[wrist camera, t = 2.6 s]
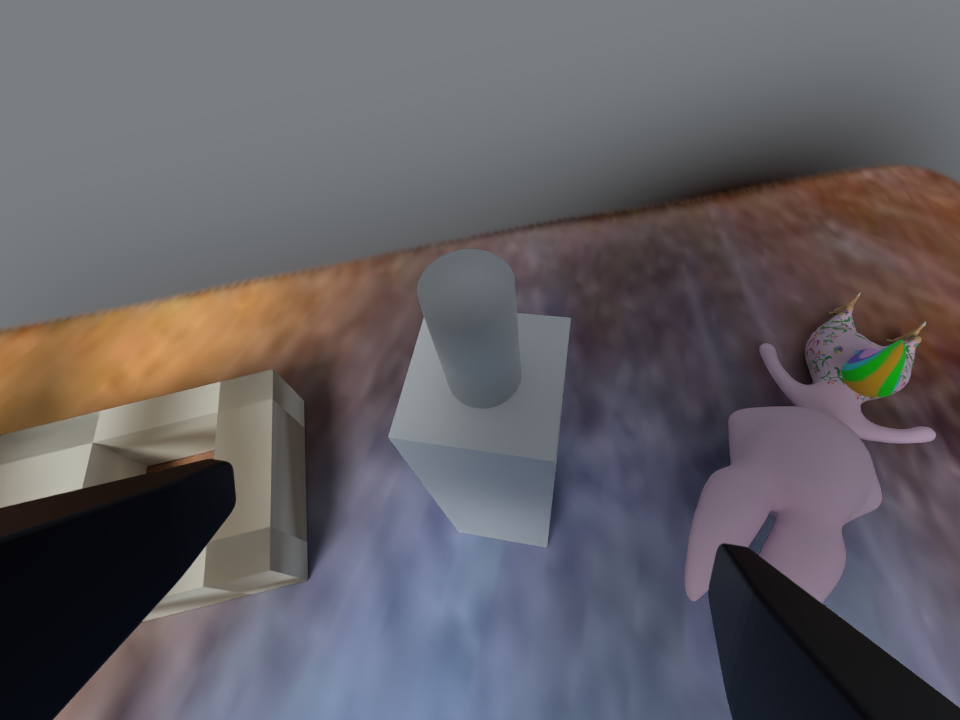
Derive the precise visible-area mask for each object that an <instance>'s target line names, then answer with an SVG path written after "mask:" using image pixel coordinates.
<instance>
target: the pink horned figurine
mask: <svg viewBox="0 0 960 720" xmlns="http://www.w3.org/2000/svg"><path fill="white" fill-rule="evenodd" d="M860 294H861V292H860V293H859V294H858V295H857V296H856V297H855V299H854V300H852V301H849V302H848V303H847V304H845V305H843V306H842V307H839V308H836V309H834V311H833V312H829V315H832V314H833V313H834V314H836V316H834V317H833V318H831V319H830V320H829V321H827V322H826V323H824V324H823V325H821V326H820V327H819V328H818V329H816V330H815V331H814V332H813V334H812V335H811V336H810V338H809V340H808V342H807V344H806V349H805V358H806V362H807V365H808V368H809V371H810V375H811V377H812V380H813V383H812V384H811V385H805V384H801V383H799V382H797V381H796V380H794V379H793V378H792V377H791V376H790V375H789V374H788V373H787V372H786V371H785V369H784V368H783V367H782V366H781V364H780V362H779V360H778V357H777V352H776V349H775V348H774V346H773V345H771V344H769V343H764V344H762V345H761V346H760V348H759V351H760V354H761V357H762V359H763V361H764V363H765V365H766V367H767V369H768V371H769V372H770V374H771V376H772V377H773V379H774V380H775V382H776V383H777V385H778V386H779V387H780V389H781V390H782V391H783V393H784V394H785V395H786V396H787V397H788V399H789V400H790V401H791V402H792V403H793V404H794V405H795V406H774V407H755V408H746V409H740V410H737V411H735V412H733V413H732V414H731V415H730V417H729V420H728V428H729V449H730V460H731V464H730V466H728V467H725V468H722V469H719V470H717V471H715V472H714V473H713V474H712V475H711V476H710V477H709V479H708V480H707V482H706V484H705V486H704V487H703V490H702V492H701V495H700V499H699V502H698V505H697V508H696V511H695V514H694V517H693V520H692V525H691V529H690V534H689V540H688V547H687V555H686V563H685V579H684V581H685V591H686V594H687V596H688V598H689V599H690V600H691V601H697V600H698V599H700V598H701V597H702V596H703V595H704V594H705V593H706V592H707V591H708V590H709V582H710V578H711V573H712V569H713V564H714V560H715V555H716V551H717V548H718V547H719V545H720V544H722V543H727V544H733V545H739V546H745V547H749V545H750V544H751V542H752V541H753V539H754V538H755V536H756V535H757V533H758V532H759V530H760V529H761V527H762V526H763V524H764V522H765V521H766V519H767V517H768V515H769V514H770V515H772V516H774V517H776V522H775V524H774V526H773V528H772V530H771V532H770V534H769V535H768V537H767V539H766V541H765V543H764V545H763V548H762V550H761V552H760V554H759V556H760V557H762V558H763V559H764V560H765V561H767V562H768V563H769V564H771V565H772V566H773V567H775V568H776V569H777V570H779V571H780V572H781V573H783V574H784V575H785V576H787V577H788V578H789V579H790V580H792V581H793V582H794V583H796V584H797V585H798V586H800V587H801V588H802V589H804V590H805V591H806V592H808V593H809V594H810V595H812V596H813V597H814V598H816V599H817V600H818V601H819V602H821V603H823V601H824V600H825V599H826V598H827V596H828V595H829V594H830V593H831V592H832V590H833V589H834V588H835V586H836V585H837V583H838V582H839V580H840V578H841V576H842V573H843V571H844V568H845V563H846V549H845V544H844V540H843V536H842V528H843V525H844V524H846V523H848V522H850V521H852V520H854V519H856V518H858V517H860V516H862V515H864V514H866V513H869V512H871V511H873V510H875V509H877V508H878V507H879V506H880V504H881V501H882V492H881V488H880V484H879V481H878V479H877V476H876V473H875V469H874V466H873V462H872V459H871V456H870V454H869V452H868V450H867V448H866V447H865V445H864V443H863V442H862V441H861V439H864V440H870V441H878V442H886V443H924V442H930V441H932V440H934V439H935V437H936V433H935V432H934V431H933V430H932V429H931V428H929V427H924V426H919V427H914V428H910V429H893V428H887V427H883V426H879V425H876V424H874V423H872V422H870V421H869V420H867V419H866V418H865V417H864V415H863V414H862V412H861V404H862V403H863V402H866V401H869V400H874V399H878V398H883V397H886V396H890V395H892V394H894V393H896V392H898V391H900V390H901V389H903V388H904V387H905V386H906V384H907V383H908V381H909V379H910V376H911V369H912V365H913V361H914V357H915V349H916V347H917V346H918V344H919V343H920V342H921V340H922V338H921V337H919V336H917V335H918V333H919V332H920V329H922V328H923V327H924V326H925V324H926V322H925V323H923V324H921V325H920V327H919V328H918V329H916V330H912V331H911V332H909V333H907V334H905V335H903V336H901V337H898V338H895V339H894V340H890V339H886V340H887V341H888V342H893V343H892V344H891V345H887V346H881V345H878V344H875V343H873V342H872V341H870V340H868V339H867V338H866V337H864V336H863V335H861V334H860V333H858V332H856V328H855V325H854V321H853V318H852V315H851V314H852V312H853V310H854V307H853V306H854V304H855V302H856V300H857V299H858V298H859V297H860Z"/></svg>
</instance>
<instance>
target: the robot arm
mask: <svg viewBox="0 0 960 720" xmlns="http://www.w3.org/2000/svg"><path fill="white" fill-rule="evenodd" d="M235 504H236V490H235V480H234V470H233V467H232V465H231V463H229V462H227V461H223V460H217V459H206V460H201V461H197V462H193V463H189V464H185V465H180V466H176V467H172V468H168V469H163V470H159V471H155V472H151V473H146V474H142V475H138V476H134V477H129V478H125V479H121V480H117V481H112V482H108V483H104V484H100V485H95V486H91V487H87V488H83V489H78V490H74V491H70V492H66V493H61V494H57V495H53V496H49V497H44V498H40V499H36V500H32V501H27V502H23V503H19V504H15V505H10V506H6V507H2V508H0V720H53V719H54V718H55V717H56V716H57V715H58V714H59V713H60V711H61V710H62V709H63V708H64V707H65V706H66V705H67V704H68V703H69V702H70V700H71V699H72V698H73V697H74V696H75V695H76V694H77V693H78V692H79V691H80V689H81V688H82V687H83V686H84V685H85V684H86V683H87V682H88V681H89V679H90V678H91V677H92V676H93V675H94V674H95V673H96V672H97V671H98V670H99V668H100V667H101V666H102V665H103V664H104V663H105V662H106V661H107V660H108V659H109V657H110V656H111V655H112V654H113V653H114V652H115V651H116V650H117V649H118V648H119V646H120V645H121V644H122V643H123V642H124V641H125V640H126V639H127V638H128V637H129V635H130V634H131V633H132V632H133V631H134V630H135V629H136V628H137V627H138V625H139V624H140V623H141V622H142V621H143V620H144V619H145V618H146V617H147V616H148V614H149V613H150V612H151V611H152V610H153V609H154V608H155V607H156V606H157V605H158V603H159V602H160V601H161V600H162V599H163V598H164V597H165V596H166V595H167V594H168V592H169V591H170V590H171V589H172V588H173V587H174V586H175V585H176V583H177V582H178V581H179V580H180V579H181V578H182V576H183V575H184V574H185V573H186V571H187V570H188V569H189V568H190V566H191V565H192V564H193V562H194V561H195V560H196V559H197V557H198V556H199V555H200V553H201V552H202V551H203V549H204V548H205V547H206V545H207V544H208V543H209V542H210V540H211V539H212V538H213V536H214V535H215V534H216V532H217V531H218V530H219V528H220V527H221V526H222V525H223V523H224V522H225V521H226V519H227V518H228V517H229V515H230V514H231V513H232V511H233V509H234V507H235ZM708 595H709V604H710V609H711V615H712V620H713V626H714V631H715V637H716V642H717V648H718V654H719V659H720V665H721V670H722V676H723V681H724V686H725V691H726V696H727V700H728V704H729V708H730V711H731V715H732V719H733V720H960V708H959V707H958V706H956V705H955V704H954V703H952V702H951V701H950V700H948V699H947V698H946V697H945V696H943V695H942V694H941V693H939V692H938V691H937V690H935V689H934V688H933V687H931V686H930V685H929V684H927V683H926V682H925V681H923V680H922V679H921V678H920V677H918V676H917V675H916V674H914V673H913V672H912V671H910V670H909V669H908V668H906V667H905V666H904V665H902V664H901V663H900V662H898V661H897V660H896V659H895V658H893V657H892V656H891V655H889V654H888V653H887V652H885V651H884V650H883V649H881V648H880V647H879V646H877V645H876V644H875V643H873V642H872V641H871V640H869V639H868V638H867V637H866V636H864V635H863V634H862V633H860V632H859V631H858V630H856V629H855V628H854V627H852V626H851V625H850V624H848V623H847V622H846V621H844V620H843V619H842V618H841V617H839V616H838V615H837V614H835V613H834V612H833V611H831V610H830V609H829V608H827V607H826V606H825V605H823V604H822V603H821V602H819V601H818V600H817V599H816V598H814V597H813V596H812V595H810V594H809V593H808V592H806V591H805V590H804V589H802V588H801V587H800V586H798V585H797V584H796V583H794V582H793V581H792V580H790V579H789V578H788V577H787V576H785V575H784V574H783V573H781V572H780V571H779V570H777V569H776V568H775V567H773V566H772V565H771V564H769V563H768V562H767V561H765V560H764V559H763V558H762V557H760V556H759V555H758V554H756V553H755V552H754V551H752V550H751V549H750V548H748V547H745V546H739V545H733V544H727V543H722V544H720V545H719V547H718V548H717V551H716V555H715V560H714V564H713V569H712V573H711V578H710V582H709V590H708Z"/></svg>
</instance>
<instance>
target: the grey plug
mask: <svg viewBox="0 0 960 720" xmlns="http://www.w3.org/2000/svg"><path fill="white" fill-rule="evenodd" d="M417 297H418V301H419V304H420V307H421V310H422V312H423V315H424V319H423V322H422V325H421V329H420V332H419V335H418V339H417V342H416V345H415V349H414V352H413V356H412V359H411V362H410V366H409V369H408V372H407V376H406V379H405V382H404V386H403V389H402V393H401V396H400V399H399V403H398V406H397V409H396V413H395V416H394V419H393V423H392V426H391V430H390V433H389V436H388V438H389V439H390V441H391V442H392V443H393V445H394V446H395V447H396V449H397V450H398V451H399V453H400V454H401V455H402V457H403V458H404V459H405V461H406V462H407V464H408V465H409V466H410V468H411V469H412V470H413V472H414V473H415V474H416V476H417V477H418V478H419V480H420V481H421V482H422V484H423V485H424V486H425V488H426V489H427V490H428V492H429V493H430V494H431V496H432V497H433V498H434V500H435V501H436V502H437V504H438V505H439V506H440V508H441V509H442V510H443V512H444V513H445V514H446V516H447V517H448V518H449V520H450V521H451V522H452V524H453V525H454V526H455V528H456V529H457V530H458V532H460V533H465V534H471V535H477V536H482V537H488V538H493V539H499V540H505V541H510V542H516V543H521V544H527V545H533V546H538V547H544V548H547V545H548V536H549V527H550V518H551V509H552V500H553V491H554V482H555V473H556V463H557V454H558V444H559V433H560V423H561V413H562V403H563V393H564V383H565V373H566V363H567V353H568V343H569V332H570V322H571V318H569V317H557V316H546V315H535V314H523V313H517V303H516V288H515V278H514V274H513V271H512V269H511V268H510V266H509V265H508V264H507V262H506V261H504V260H503V259H502V258H501V257H499V256H498V255H496V254H494V253H492V252H489V251H485V250H481V249H462V250H456V251H453V252H450V253H447V254H445V255H443V256H441V257H439V258H438V259H436V260H435V261H433V262H432V263H431V264H430V265H429V266H428V267H427V268H426V269H425V270H424V272H423V273H422V275H421V277H420V279H419V282H418V286H417Z"/></svg>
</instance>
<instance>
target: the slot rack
mask: <svg viewBox="0 0 960 720" xmlns="http://www.w3.org/2000/svg"><path fill="white" fill-rule="evenodd" d="M212 450H215V451H214V459H217V460H223V461H227V462H229V463H231V465H232V467H233V470H234V480H235V490H236V504H235V507H234V509H233V511H232V513H231V514H230V515H229V517H228V518H227V519H226V521H225V522H224V523H223V525H222V526H221V527H220V528H219V530H218V531H217V532H216V534H215V535H214V536H213V538H212V539H211V540H210V542H209V543H208V544H207V545H206V547H205V548H204V549H203V551H202V552H201V553H200V555H199V556H198V557H197V559H196V560H195V561H194V562H193V564H192V565H191V566H190V568H189V569H188V570H187V571H186V573H185V574H184V575H183V576H182V578H181V579H180V580H179V581H178V582H177V583H176V585H175V586H174V587H173V588H172V589H171V590H170V591H169V592H168V594H167V595H166V596H165V597H164V598H163V599H162V600H161V601H160V602H159V603H158V605H157V606H156V607H155V608H154V609H153V610H152V611H151V612H150V613H149V614H148V616H147V617H146V618H145V619H144V620H143V621H142V622H144V621H148V620H152V619H156V618H160V617H164V616H168V615H172V614H176V613H180V612H184V611H188V610H192V609H196V608H200V607H204V606H208V605H212V604H215V603H219V602H223V601H227V600H231V599H235V598H239V597H243V596H247V595H251V594H255V593H259V592H263V591H267V590H271V589H275V588H279V587H283V586H287V585H291V584H295V583H299V582H303V581H307V580H308V554H307V510H306V465H305V421H304V400H303V399H302V398H301V397H300V396H299V395H298V394H297V393H296V392H295V391H294V390H293V389H292V388H291V387H290V386H289V385H288V384H287V383H286V382H285V381H284V380H283V379H282V378H281V377H280V376H279V375H278V374H277V373H276V372H275V371H274V370H273V369H271V370H267V371H263V372H259V373H255V374H250V375H246V376H242V377H238V378H234V379H230V380H226V381H222V382H217V383H213V384H209V385H205V386H201V387H197V388H193V389H189V390H184V391H180V392H176V393H172V394H168V395H164V396H160V397H156V398H151V399H147V400H143V401H139V402H135V403H131V404H127V405H123V406H118V407H114V408H110V409H106V410H102V411H98V412H94V413H90V414H85V415H81V416H77V417H73V418H69V419H65V420H61V421H57V422H52V423H48V424H44V425H40V426H36V427H32V428H28V429H24V430H19V431H15V432H11V433H7V434H3V435H0V508H2V507H6V506H10V505H15V504H19V503H23V502H27V501H32V500H36V499H40V498H44V497H49V496H53V495H57V494H61V493H66V492H70V491H74V490H78V489H83V488H87V487H91V486H95V485H100V484H104V483H108V482H112V481H117V480H121V479H125V478H129V477H134V476H138V475H142V474H146V469H147V466H151V465H155V464H159V463H163V462H168V461H172V460H176V459H180V458H184V457H188V456H192V455H196V454H200V453H204V452H208V451H212Z"/></svg>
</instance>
